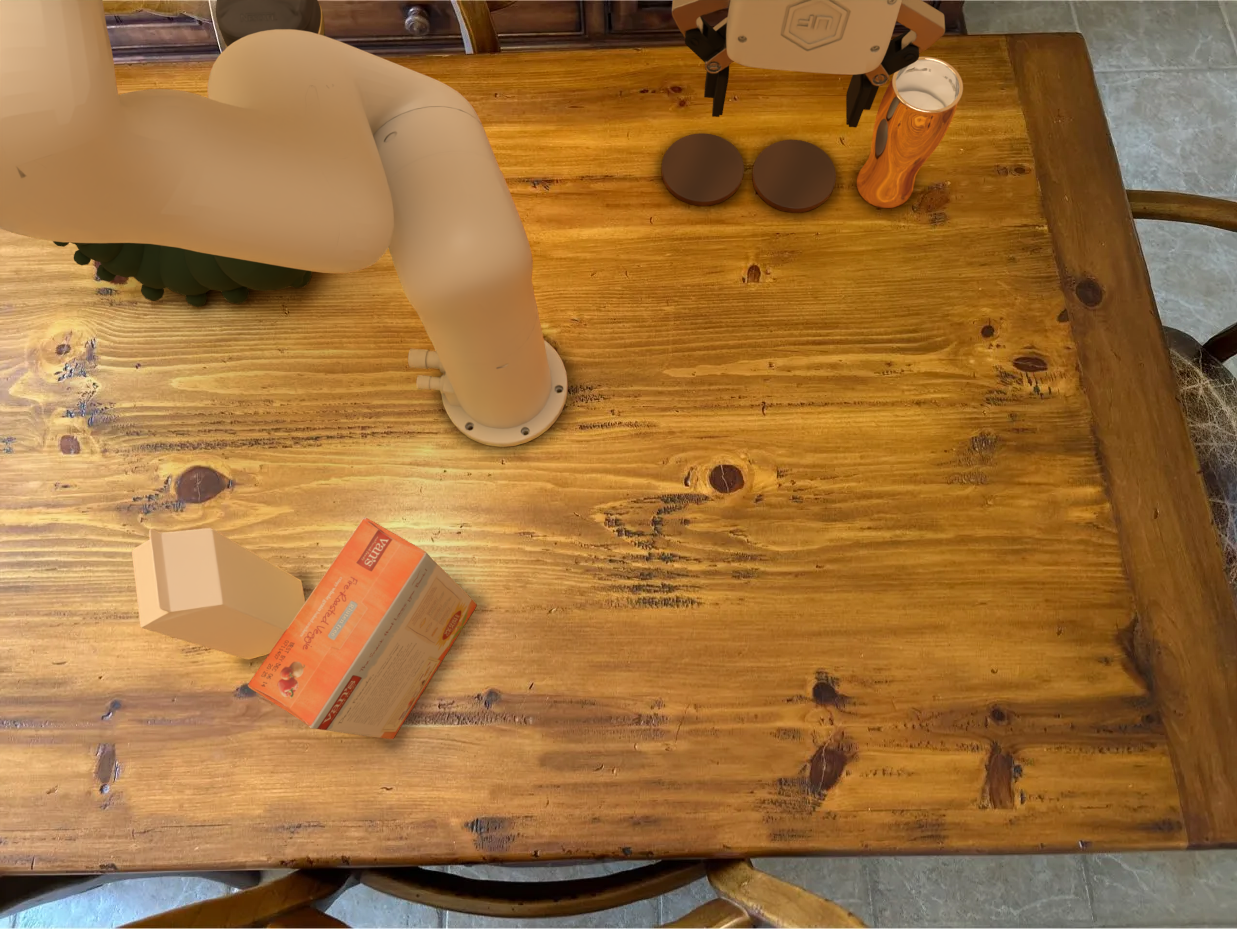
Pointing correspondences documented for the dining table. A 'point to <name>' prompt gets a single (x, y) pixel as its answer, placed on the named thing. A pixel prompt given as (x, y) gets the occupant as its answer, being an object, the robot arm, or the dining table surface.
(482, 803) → the dining table surface
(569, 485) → the dining table surface
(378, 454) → the dining table surface
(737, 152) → the coaster
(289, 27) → the coffee jar
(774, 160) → the coaster
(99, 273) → the toy figurine
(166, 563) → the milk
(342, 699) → the cracker box
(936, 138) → the wood grain tumbler
